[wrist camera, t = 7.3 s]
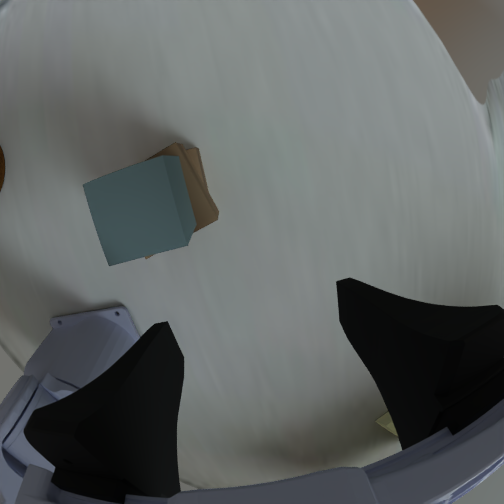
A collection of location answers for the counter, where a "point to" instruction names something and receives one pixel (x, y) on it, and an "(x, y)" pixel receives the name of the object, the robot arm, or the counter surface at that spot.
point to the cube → (141, 209)
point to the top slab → (193, 188)
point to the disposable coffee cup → (2, 168)
